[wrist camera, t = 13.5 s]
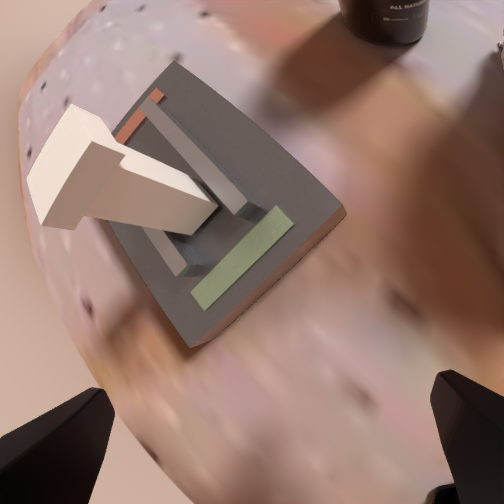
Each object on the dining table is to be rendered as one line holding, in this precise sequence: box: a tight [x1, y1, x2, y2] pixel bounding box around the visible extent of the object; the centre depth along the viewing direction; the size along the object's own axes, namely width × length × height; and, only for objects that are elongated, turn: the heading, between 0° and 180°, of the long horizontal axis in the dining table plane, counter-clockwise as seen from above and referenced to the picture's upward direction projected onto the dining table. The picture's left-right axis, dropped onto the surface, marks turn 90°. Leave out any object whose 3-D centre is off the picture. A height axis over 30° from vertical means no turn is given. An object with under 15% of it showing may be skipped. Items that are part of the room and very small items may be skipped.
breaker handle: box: [27, 104, 219, 235], centre depth 13 cm, size 3×4×10 cm
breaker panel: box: [107, 61, 347, 348], centre depth 19 cm, size 17×12×5 cm
